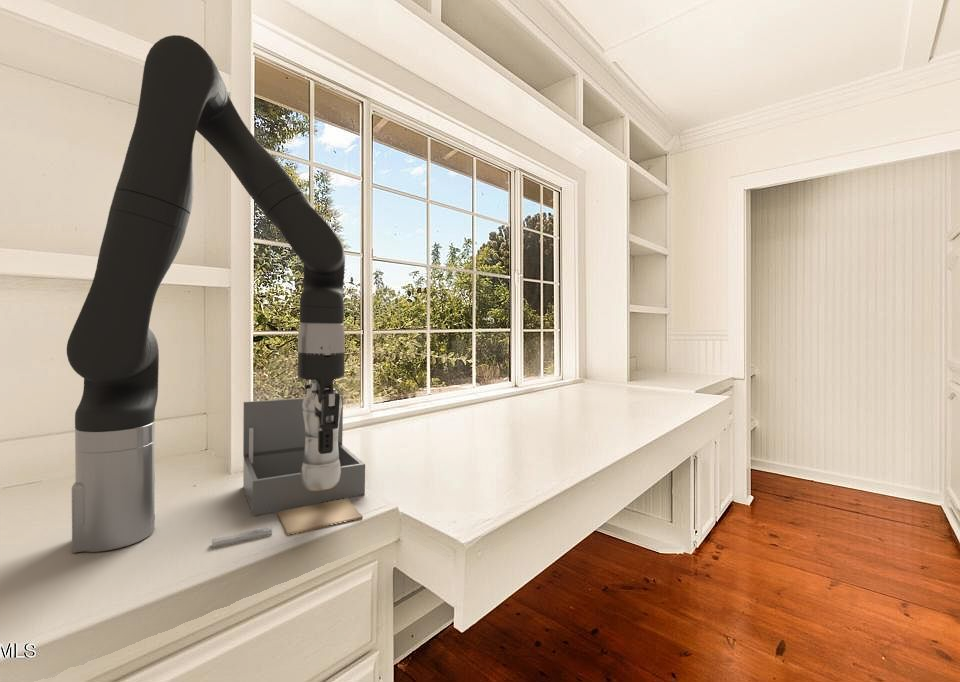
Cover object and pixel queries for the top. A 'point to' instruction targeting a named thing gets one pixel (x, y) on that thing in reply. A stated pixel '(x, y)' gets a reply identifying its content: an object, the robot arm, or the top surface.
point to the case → (287, 459)
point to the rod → (241, 537)
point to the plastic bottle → (316, 466)
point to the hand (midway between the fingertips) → (320, 447)
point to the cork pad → (318, 516)
